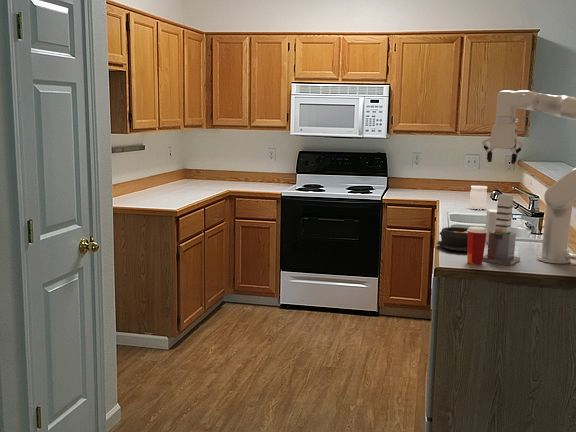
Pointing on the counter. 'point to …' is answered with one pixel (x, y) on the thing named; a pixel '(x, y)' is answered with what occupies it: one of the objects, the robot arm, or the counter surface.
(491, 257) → the stand
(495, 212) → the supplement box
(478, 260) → the paper cup
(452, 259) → the counter surface
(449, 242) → the casserole
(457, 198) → the counter surface
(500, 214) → the column
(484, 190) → the jar
